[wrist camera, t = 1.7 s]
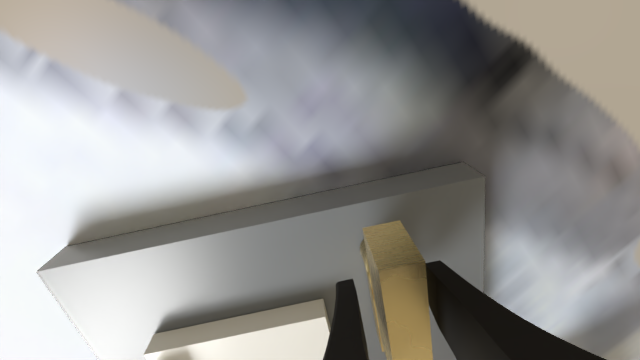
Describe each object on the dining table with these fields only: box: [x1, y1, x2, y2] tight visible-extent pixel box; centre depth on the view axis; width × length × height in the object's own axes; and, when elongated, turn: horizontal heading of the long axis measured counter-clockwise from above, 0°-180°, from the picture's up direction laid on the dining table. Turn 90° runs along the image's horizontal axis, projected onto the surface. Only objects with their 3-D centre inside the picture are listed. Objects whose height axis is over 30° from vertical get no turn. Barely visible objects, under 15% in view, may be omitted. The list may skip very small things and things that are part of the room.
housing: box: [36, 162, 485, 360], centre depth 18 cm, size 17×21×3 cm
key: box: [360, 220, 433, 360], centre depth 13 cm, size 8×1×5 cm, turn 11°
